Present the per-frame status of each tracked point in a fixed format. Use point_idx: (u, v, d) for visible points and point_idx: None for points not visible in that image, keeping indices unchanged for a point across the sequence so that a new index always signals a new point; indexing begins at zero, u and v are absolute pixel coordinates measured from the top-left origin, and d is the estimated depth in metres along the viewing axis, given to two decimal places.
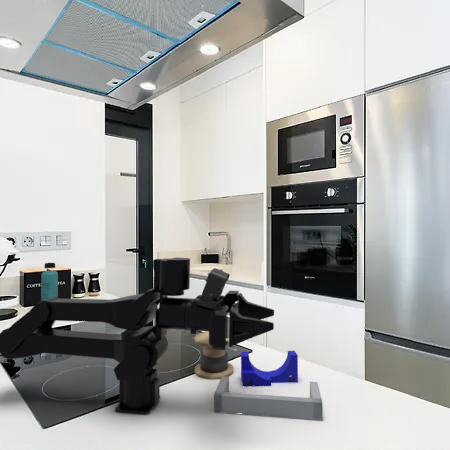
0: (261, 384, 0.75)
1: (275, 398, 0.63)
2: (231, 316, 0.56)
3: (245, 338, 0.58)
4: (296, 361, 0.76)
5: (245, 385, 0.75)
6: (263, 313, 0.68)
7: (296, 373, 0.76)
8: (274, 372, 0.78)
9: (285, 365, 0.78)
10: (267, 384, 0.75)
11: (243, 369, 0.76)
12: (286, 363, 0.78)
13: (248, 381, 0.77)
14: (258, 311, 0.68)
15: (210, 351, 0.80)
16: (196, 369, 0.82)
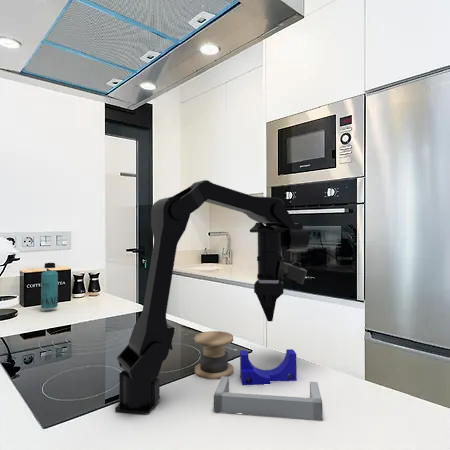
0: (260, 383, 0.75)
1: (275, 398, 0.63)
2: (278, 294, 0.77)
3: (261, 302, 0.80)
4: (295, 359, 0.77)
5: (245, 384, 0.75)
6: None
7: (295, 371, 0.77)
8: (273, 370, 0.79)
9: (284, 363, 0.79)
10: (267, 382, 0.75)
11: (242, 368, 0.77)
12: (285, 362, 0.79)
13: (247, 380, 0.77)
14: None
15: (210, 351, 0.80)
16: (196, 369, 0.82)
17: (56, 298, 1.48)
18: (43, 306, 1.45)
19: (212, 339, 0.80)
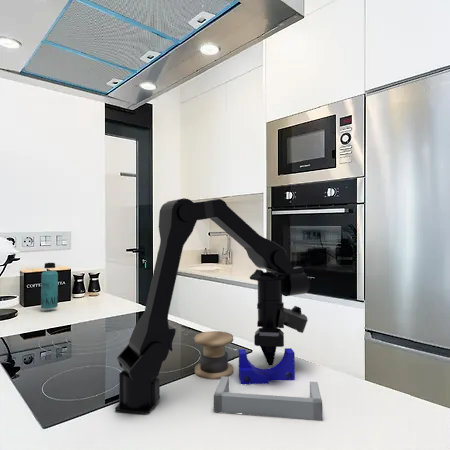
0: (258, 381, 0.76)
1: (275, 398, 0.63)
2: None
3: (262, 347, 0.82)
4: (293, 358, 0.78)
5: (243, 382, 0.76)
6: None
7: (293, 370, 0.78)
8: (271, 369, 0.79)
9: (282, 362, 0.79)
10: (265, 381, 0.76)
11: (241, 367, 0.77)
12: (283, 360, 0.79)
13: (246, 378, 0.78)
14: None
15: (210, 351, 0.80)
16: (196, 369, 0.82)
17: (56, 298, 1.48)
18: (43, 306, 1.45)
19: (212, 339, 0.80)
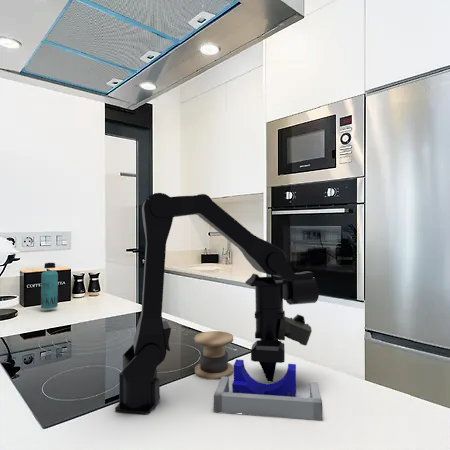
0: None
1: (275, 398, 0.63)
2: None
3: (260, 362, 0.73)
4: (294, 377, 0.68)
5: None
6: None
7: (294, 390, 0.68)
8: (271, 386, 0.70)
9: (283, 379, 0.69)
10: None
11: (235, 379, 0.70)
12: (284, 377, 0.69)
13: (241, 392, 0.70)
14: None
15: (210, 351, 0.80)
16: (196, 369, 0.82)
17: (56, 298, 1.48)
18: (43, 306, 1.45)
19: (212, 339, 0.80)
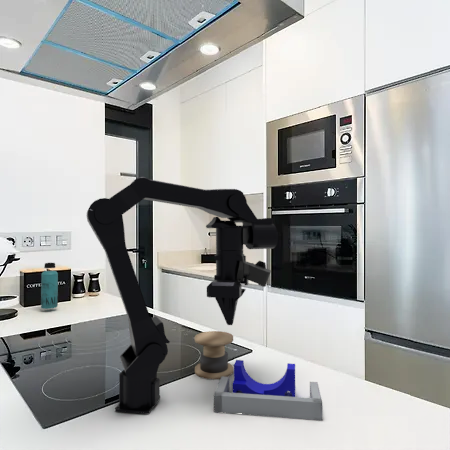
0: None
1: (275, 398, 0.63)
2: None
3: (219, 304, 0.73)
4: (293, 376, 0.69)
5: None
6: None
7: (293, 389, 0.69)
8: (271, 385, 0.71)
9: (283, 379, 0.70)
10: None
11: (235, 379, 0.71)
12: (284, 377, 0.71)
13: (241, 392, 0.71)
14: None
15: (210, 351, 0.80)
16: (196, 369, 0.82)
17: (56, 298, 1.48)
18: (43, 306, 1.45)
19: (212, 339, 0.80)
